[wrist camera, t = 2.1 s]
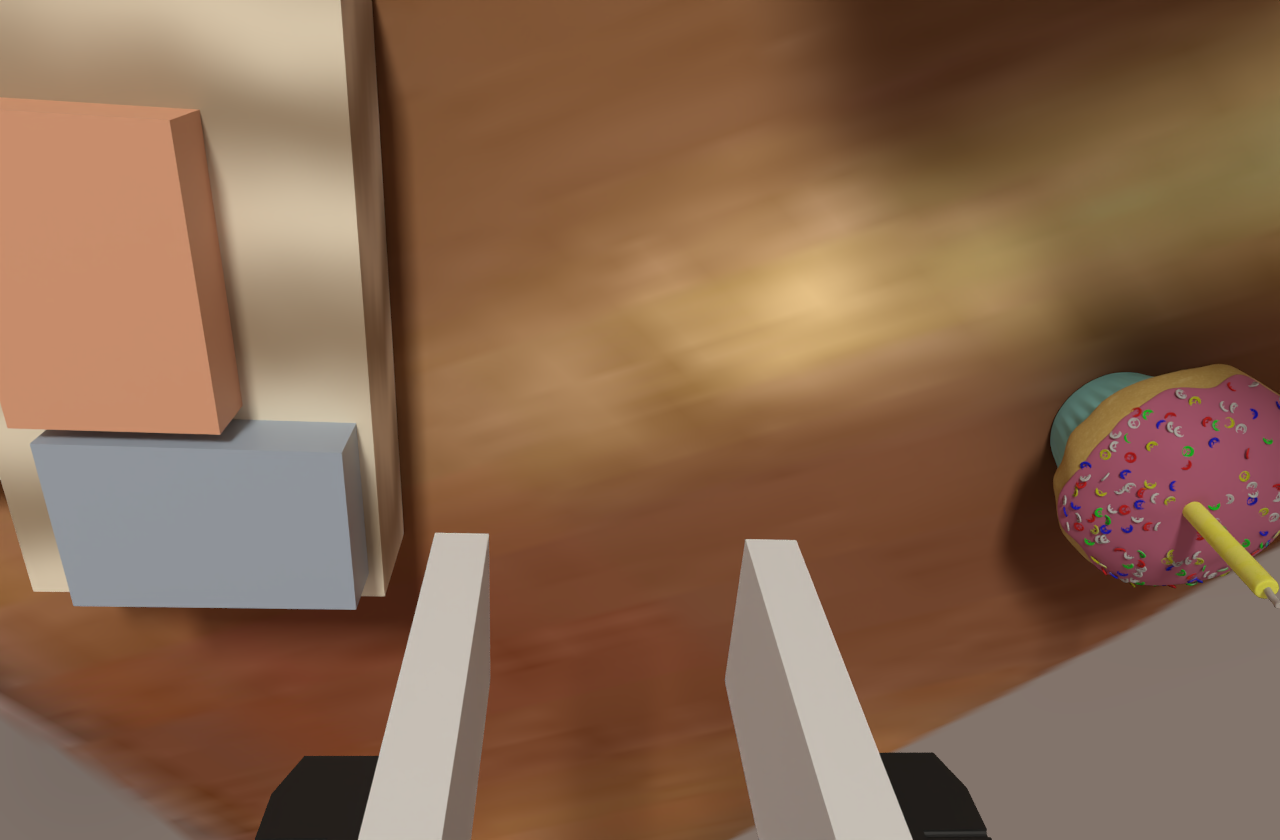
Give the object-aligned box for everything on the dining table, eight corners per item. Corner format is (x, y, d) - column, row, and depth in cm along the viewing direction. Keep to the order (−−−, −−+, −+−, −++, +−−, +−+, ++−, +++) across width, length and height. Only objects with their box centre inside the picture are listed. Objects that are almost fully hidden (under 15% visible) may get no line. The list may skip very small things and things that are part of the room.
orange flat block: (-34, 95, 24) (-84, 105, 22) (199, 109, 24) (169, 120, 22) (44, 399, 28) (7, 428, 26) (242, 405, 28) (220, 435, 26)
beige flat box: (-56, -55, 25) (-159, -60, 22) (370, -23, 27) (338, -22, 23) (89, 527, 34) (33, 591, 31) (403, 533, 35) (385, 596, 32)
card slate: (102, 569, 31) (73, 605, 29) (64, 413, 28) (29, 444, 26) (368, 573, 31) (356, 609, 30) (356, 423, 29) (341, 452, 27)
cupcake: (972, 495, 36) (1136, 712, 26) (1059, 303, 33) (1293, 462, 22) (1155, 526, 38) (1384, 744, 27) (1259, 344, 34) (1571, 514, 23)
